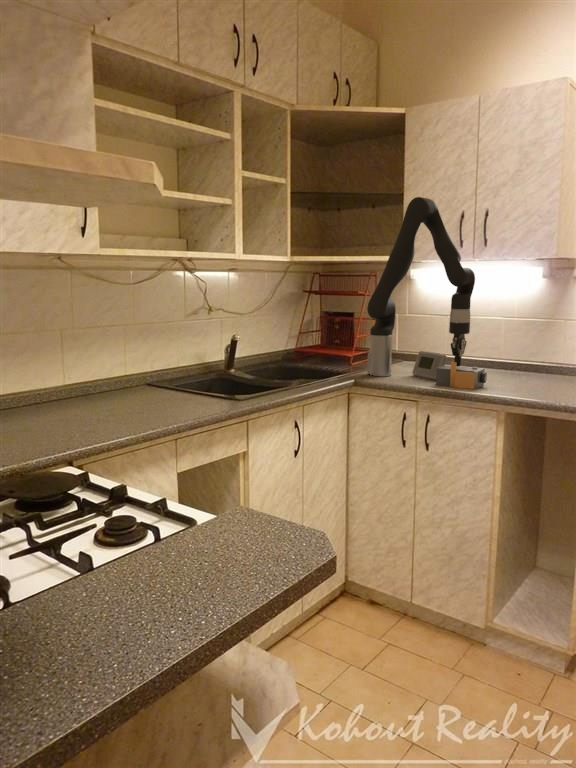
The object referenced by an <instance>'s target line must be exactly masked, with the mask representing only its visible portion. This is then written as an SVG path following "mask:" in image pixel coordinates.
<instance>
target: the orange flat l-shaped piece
mask: <svg viewBox="0 0 576 768" xmlns="http://www.w3.org/2000/svg"><path fill="white" fill-rule="evenodd" d="M450 366H451V373H450V386H449V387H450V388H457V387H458V389H459V388H460V389H468V388H469V389H470V390H478V389H477V376H478V372H474V373H471V372H458V371H456V362H454V361H451V362H450Z"/></svg>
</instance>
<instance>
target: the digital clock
mask: <svg viewBox="0 0 576 768" xmlns="http://www.w3.org/2000/svg"><path fill="white" fill-rule="evenodd" d="M447 358H448V357H447V355H446V354H443V353H440V352H433V351H425V350H420V351H418V354H417V356H416V359H415V363H414V366H413V369H412V373H411V374H412V375H413V376H415V377H418V378H422V379H427V380H431V381H434V380H435V381H436V369H437V368H438V367H441V366H444V365H446V362H447Z"/></svg>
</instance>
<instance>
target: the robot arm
mask: <svg viewBox="0 0 576 768" xmlns="http://www.w3.org/2000/svg"><path fill="white" fill-rule="evenodd" d="M421 224H423V225H424V226H425V227H426V229H428V231H429V232H430V234H431V237H432V240H433V245H434V250H435V252H436V254H437V256H438V258H439V260H440V261H441V263H442V264H443V268H444V271H445V274H446V277H447V279H448V281H449V282H450V284H452V285H453V286H454V287H456V291H455V293H453V294H452V296H451V300H450V301H451V304H450V313H449V327H448V329H449V330H448V331H449V332H448V333H449V334H452V335H453V338H452V339H451V340H452V342H451V343H450V348H451V354H452V356H453V357H454V361H453V362H456V366H458V367H462V357H463V355H464V354H465V351H466V347H467V340H466V335H469V334H470V331H471V298H472V294H473V291H474V287H475V284H476V283H475V282H476V277H475V276H476V274H475V272H474V271H473V269H471V268H469V267H463V266H462V264H461V260H462V257H461V254H460V251H458V248H457V247H456V245H455V244H454V242H453V240H452V239H451V236H450V235H449V233H448V231H447V229H446V225H445V223H444V221H443V219H442V216H441V214H440V210H439V208H438V206H437V204H436V202H435V201H434V200H433V199H431V198H426V197H421V196H417V197H414V198H412V199H411V200H410V202H409V203H408V205H407V207H406V210H405V214H404V216H403V220H402V223H401V226H400V229H399V232H398V235H397V238H396V240H395V241H394V242H395V243H394V246H393V248H392V249H391V251H390V254H389V257H388V259H387V261H386V265H385V267H384V270H382V271H383V272H382V274H381V276H380V279H379V282H378V284H377V285H376V288H375V290H374V291H373V293H372V295H371V297H370V298H369V301H368V304H367V308H366V310H367V314H368V315H369V318H371V319H375V322H374V325H373V326H371V328H370V332H369V333H370V335H369V352H367V373H366V374H370V375H369V376H372V375H373V376H372V377H389V376H392V353H393V350H392V349H393V331H394V329H395V324H396V308H397V307H396V304H395V303H396V302H395V301H394V299H393V298H392V297H391V296H392V293H393V291H394V290H395V288H396V287H397V286H398V285H399V283H400V282H401V281H403V279H404V278H405V276H407V273H408V272H409V269H410V267H411V265H412V263H413V260H414V257H415V252H416V251H415V250H416V247H415V246H416V243H415V242H416V237H417V236H416V235H417V233H418V230H419V228H420V227H421Z"/></svg>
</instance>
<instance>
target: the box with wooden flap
mask: <svg viewBox="0 0 576 768" xmlns="http://www.w3.org/2000/svg"><path fill="white" fill-rule="evenodd" d="M456 371H458V372H471V373H474V372H478V376H477V388H478V389H479V388H481V387H483V386H484V385H485V383H487V380H488V379H487V378H488V375H487V372H486V370H485V368H482V367H481V368H480V367H479V368H478V367H477V366H472V367H469V366H456ZM450 373H451V365H446V364H445V365H444V366H441V367H438V368H437V369H436V380H435V385H436V386H447V387H450Z"/></svg>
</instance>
